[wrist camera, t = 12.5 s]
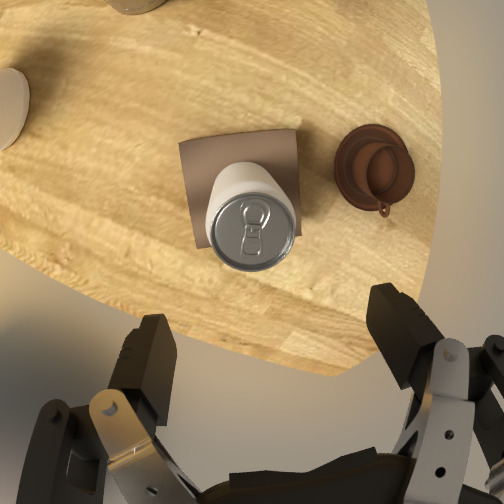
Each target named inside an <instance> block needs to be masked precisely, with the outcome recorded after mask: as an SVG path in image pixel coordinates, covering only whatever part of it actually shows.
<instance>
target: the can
mask: <svg viewBox="0 0 504 504" xmlns="http://www.w3.org/2000/svg"><path fill="white" fill-rule="evenodd" d="M295 229H296V217H295V212H294V209H293V206H292V204H291V202H290V200H289V199H288V197H287V196H286V194H285V193H284V192H283V190H282V189H281V188H280V186H279V185H278V184H277V183H276V181H275V180H274V179H273V178H272V176H271V175H270V174H269V173H268V172H267V171H266V170H265V169H264V168H263V167H261V166H260V165H258V164H256V163H253V162H238V163H234V164H231V165H229V166H227V167H226V168H225V169H223V170H222V171H221V172H220V174H219V175H218V176H217V178H216V180H215V182H214V185H213V189H212V193H211V197H210V201H209V205H208V209H207V214H206V233H207V237H208V240H209V242H210V244H211V246H212V247H213V250H214V251H215V253H216V255H217V256H218V257H219V258H220V259H221V260H222V261H223V262H224V263H225V264H227V265H228V266H230V267H232V268H234V269H237V270H240V271H245V272H257V271H262V270H266V269H269V268H271V267H273V266H275V265H276V264H278V263H279V262H280V261H282V260H283V259H284V258H285V257H286V255H287V254H288V253H289V251H290V249H291V247H292V245H293V243H294V239H295Z"/></svg>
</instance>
